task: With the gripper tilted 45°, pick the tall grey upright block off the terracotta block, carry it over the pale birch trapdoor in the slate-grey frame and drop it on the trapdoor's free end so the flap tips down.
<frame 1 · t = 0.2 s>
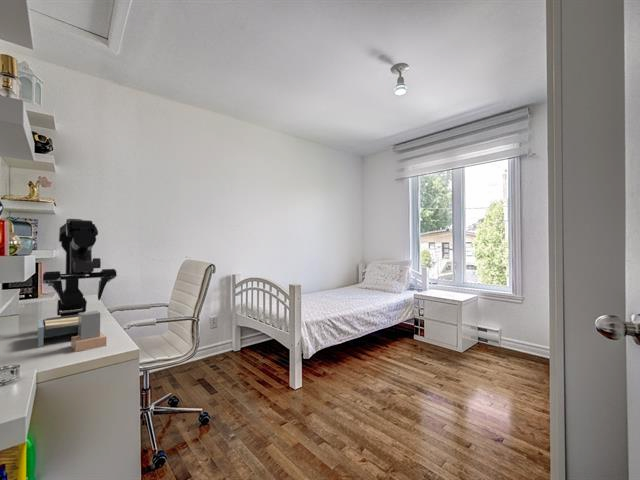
hand: (81, 301, 96), 15 cm above the table, tool tilted 15°, fingers open, 9 cm apart
grey upright block: (88, 336, 99), point 3 cm above the table, touching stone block
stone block: (88, 345, 99), on the table
trapdoor frame: (67, 338, 106), on the table
trapdoor: (67, 321, 107), point 6 cm above the table, hinge at 0.0°
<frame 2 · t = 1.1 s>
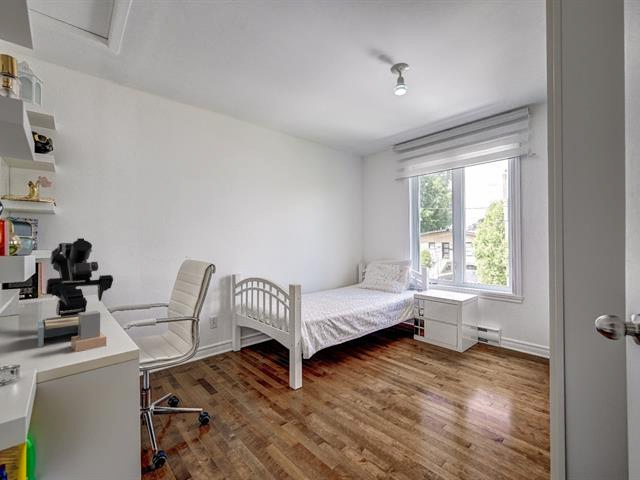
hand: (84, 302, 104), 13 cm above the table, tool tilted 45°, fingers open, 9 cm apart
nothing on the table moved.
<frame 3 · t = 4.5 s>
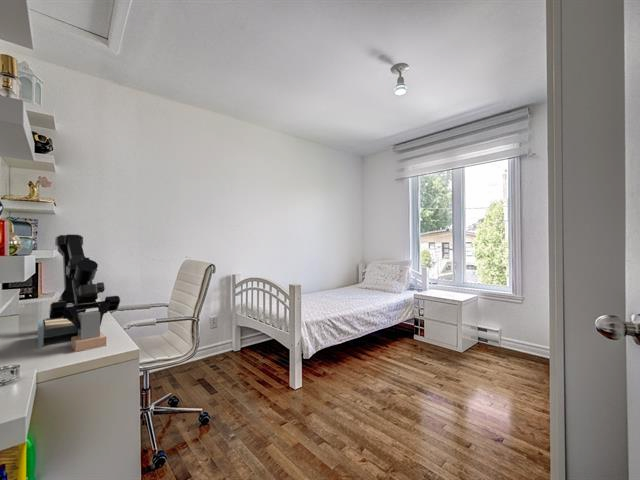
hand: (90, 326, 98), 7 cm above the table, tool tilted 45°, fingers closed on grey upright block, 5 cm apart
grey upright block: (88, 336, 99), point 3 cm above the table, touching gripper, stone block
everything else where it was.
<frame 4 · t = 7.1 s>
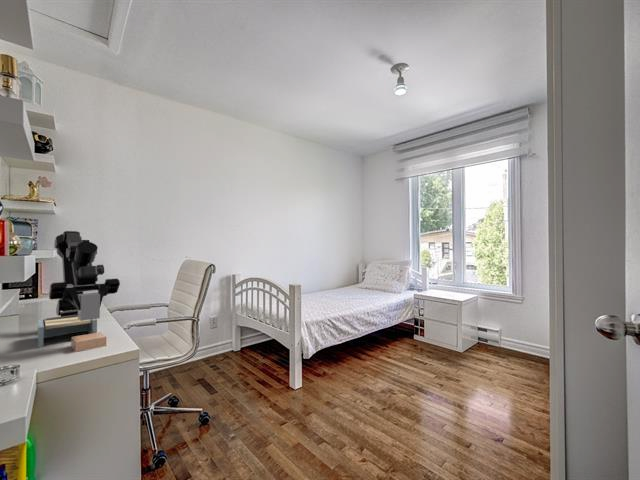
hand: (89, 308, 98), 13 cm above the table, tool tilted 45°, fingers closed on grey upright block, 5 cm apart
grey upright block: (88, 318, 99), point 9 cm above the table, touching gripper
everything else where it was.
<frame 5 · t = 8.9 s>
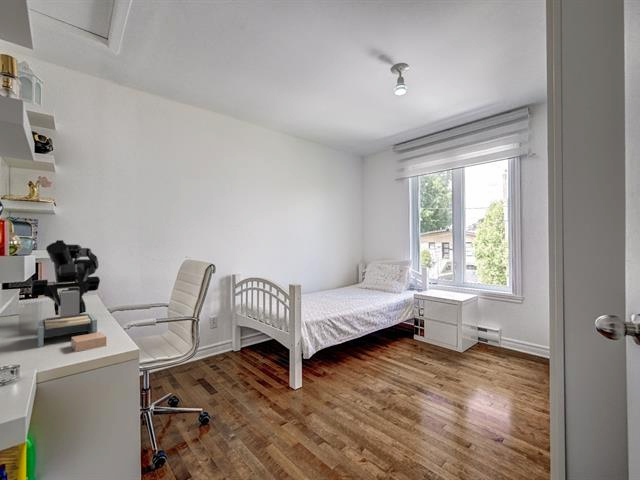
hand: (69, 304, 104), 13 cm above the table, tool tilted 45°, fingers closed on grey upright block, 5 cm apart
grey upright block: (68, 314, 105), point 9 cm above the table, touching gripper
everything else where it was.
when the fingers open (13 cm above the table, at t = 9.6 s): grey upright block drops 6 cm and tips over, resting on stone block, trapdoor.
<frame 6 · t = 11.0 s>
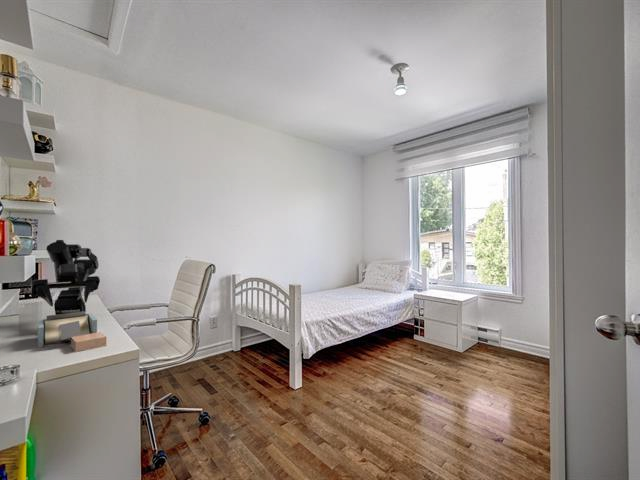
hand: (69, 303, 104), 13 cm above the table, tool tilted 45°, fingers open, 9 cm apart
grey upright block: (68, 332, 104), point 3 cm above the table, tilted 73°, touching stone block, trapdoor
trapdoor: (67, 326, 108), point 4 cm above the table, hinge at -34.2°, touching grey upright block
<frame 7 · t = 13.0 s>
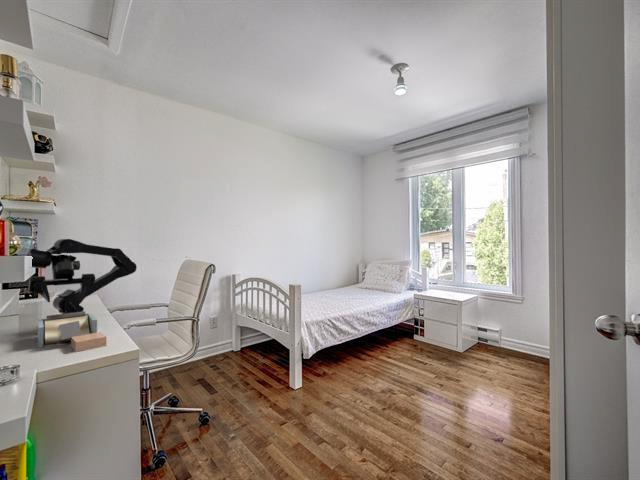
hand: (66, 299, 109), 14 cm above the table, tool tilted 45°, fingers open, 9 cm apart
nothing on the table moved.
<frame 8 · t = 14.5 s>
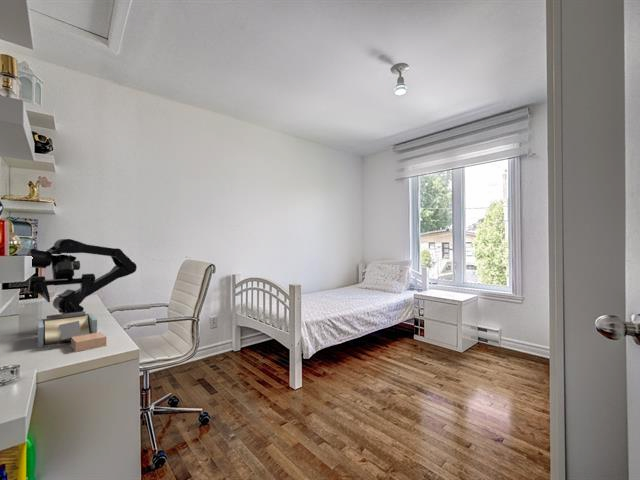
hand: (66, 299, 109), 14 cm above the table, tool tilted 45°, fingers open, 9 cm apart
nothing on the table moved.
at the end: grey upright block point 2.9 cm above the table; grey upright block 7.2 cm from the trapdoor (horizontally); grey upright block moved 13.0 cm from its start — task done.
